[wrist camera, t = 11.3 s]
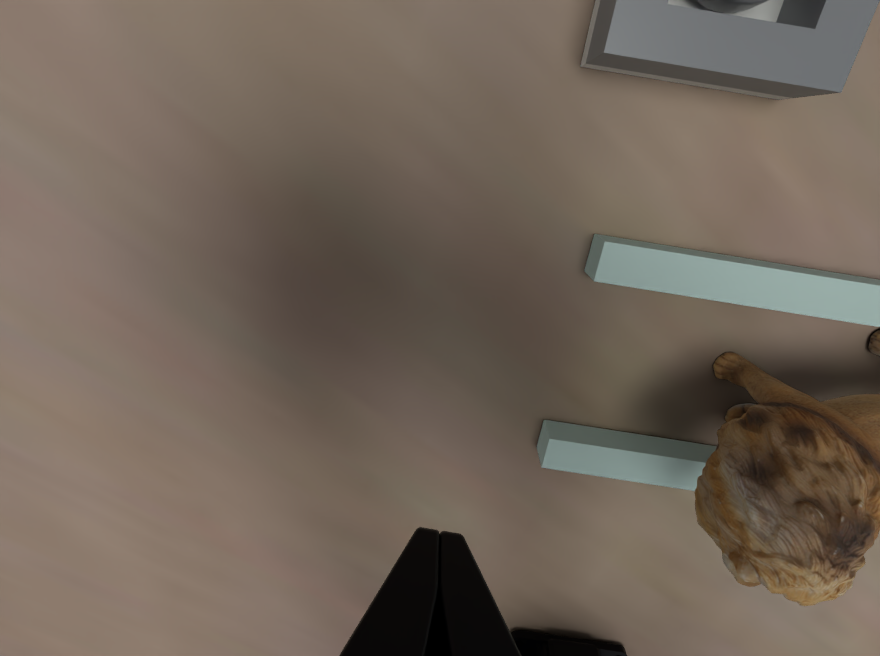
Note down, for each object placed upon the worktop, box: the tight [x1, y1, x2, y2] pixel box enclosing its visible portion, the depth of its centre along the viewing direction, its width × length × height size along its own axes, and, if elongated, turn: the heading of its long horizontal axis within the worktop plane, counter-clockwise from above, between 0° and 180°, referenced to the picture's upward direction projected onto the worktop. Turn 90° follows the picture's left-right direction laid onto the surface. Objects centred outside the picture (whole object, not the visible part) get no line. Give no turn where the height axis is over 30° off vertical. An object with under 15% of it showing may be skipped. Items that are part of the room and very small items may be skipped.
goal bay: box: [537, 234, 880, 491], centre depth 20 cm, size 10×19×2 cm, turn 81°
